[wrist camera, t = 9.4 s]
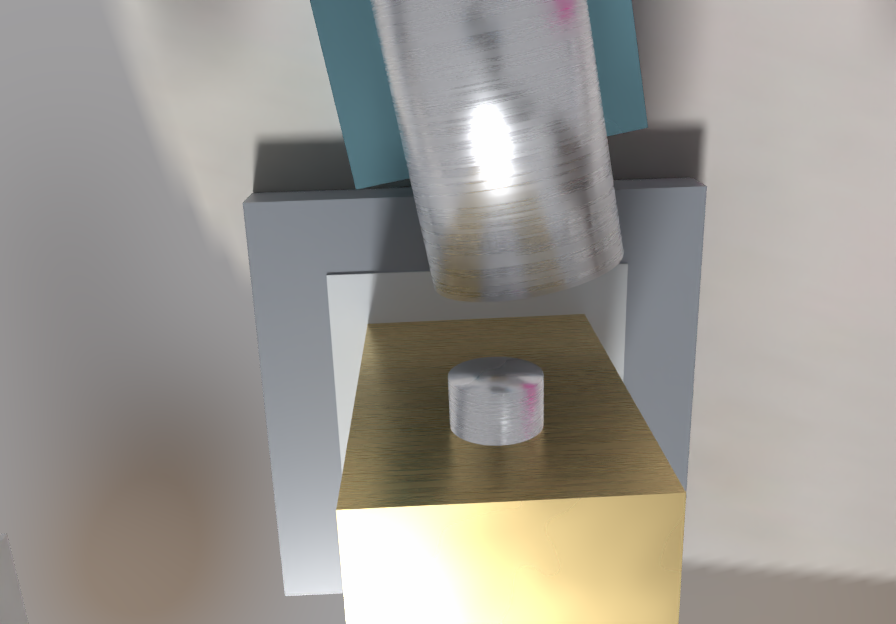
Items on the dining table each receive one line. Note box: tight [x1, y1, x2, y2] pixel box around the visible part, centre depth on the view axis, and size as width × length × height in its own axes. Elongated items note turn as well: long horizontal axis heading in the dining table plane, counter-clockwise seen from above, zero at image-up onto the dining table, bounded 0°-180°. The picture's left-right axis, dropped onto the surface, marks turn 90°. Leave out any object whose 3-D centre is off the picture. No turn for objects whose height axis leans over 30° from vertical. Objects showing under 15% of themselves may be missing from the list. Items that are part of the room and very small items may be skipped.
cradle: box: [243, 178, 707, 596], centre depth 19 cm, size 9×9×1 cm
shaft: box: [310, 0, 648, 302], centre depth 14 cm, size 7×5×6 cm
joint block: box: [336, 314, 686, 624], centre depth 15 cm, size 6×4×7 cm
